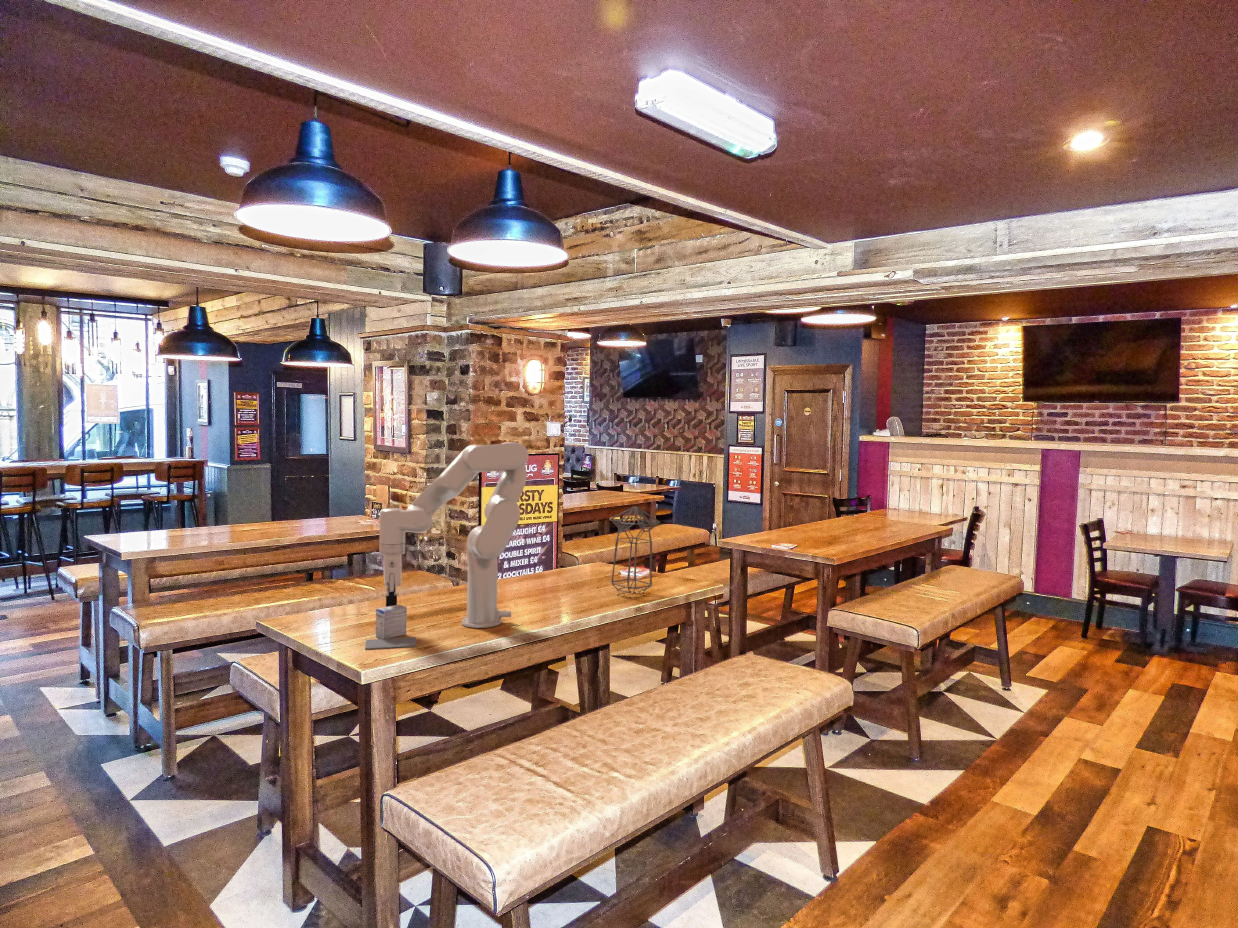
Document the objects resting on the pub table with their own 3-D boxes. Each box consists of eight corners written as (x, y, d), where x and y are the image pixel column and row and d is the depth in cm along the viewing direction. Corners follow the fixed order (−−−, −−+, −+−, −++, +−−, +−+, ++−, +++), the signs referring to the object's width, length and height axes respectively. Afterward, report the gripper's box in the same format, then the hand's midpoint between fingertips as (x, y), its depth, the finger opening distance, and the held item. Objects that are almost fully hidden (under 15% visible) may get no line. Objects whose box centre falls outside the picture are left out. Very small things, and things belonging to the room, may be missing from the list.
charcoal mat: (415, 638, 215) (415, 636, 215) (416, 646, 207) (417, 645, 207) (366, 640, 211) (366, 639, 211) (365, 649, 202) (365, 648, 202)
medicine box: (398, 632, 221) (398, 604, 221) (406, 634, 218) (407, 606, 218) (375, 637, 215) (375, 608, 215) (383, 640, 212) (384, 610, 212)
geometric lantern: (629, 589, 293) (634, 503, 292) (659, 597, 282) (664, 508, 281) (602, 594, 282) (606, 505, 280) (631, 602, 271) (636, 509, 269)
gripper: (405, 552, 216) (404, 613, 216) (404, 544, 230) (403, 602, 231) (378, 552, 214) (378, 614, 214) (379, 545, 228) (378, 603, 228)
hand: (391, 607), depth 222 cm, fingers closed
